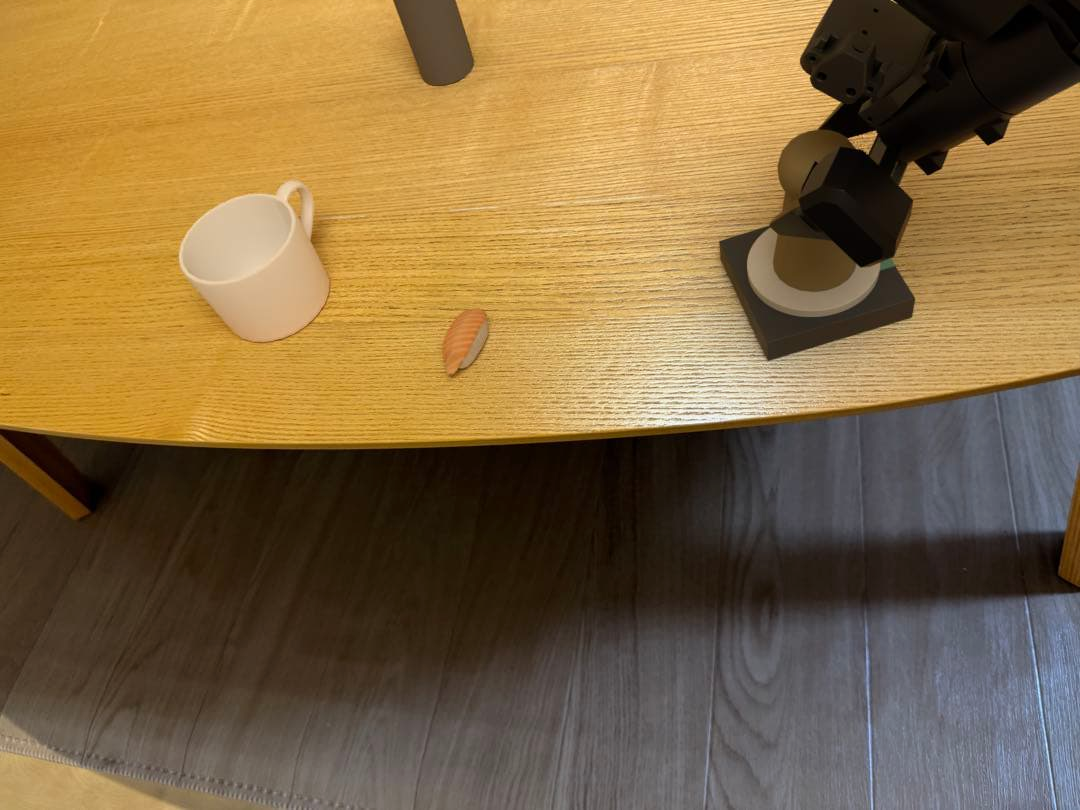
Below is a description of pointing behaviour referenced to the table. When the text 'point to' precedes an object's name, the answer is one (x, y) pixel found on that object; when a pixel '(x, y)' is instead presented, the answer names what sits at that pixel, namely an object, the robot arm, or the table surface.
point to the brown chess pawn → (808, 258)
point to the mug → (258, 263)
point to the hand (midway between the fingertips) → (797, 181)
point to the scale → (809, 298)
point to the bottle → (436, 39)
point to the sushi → (464, 339)
